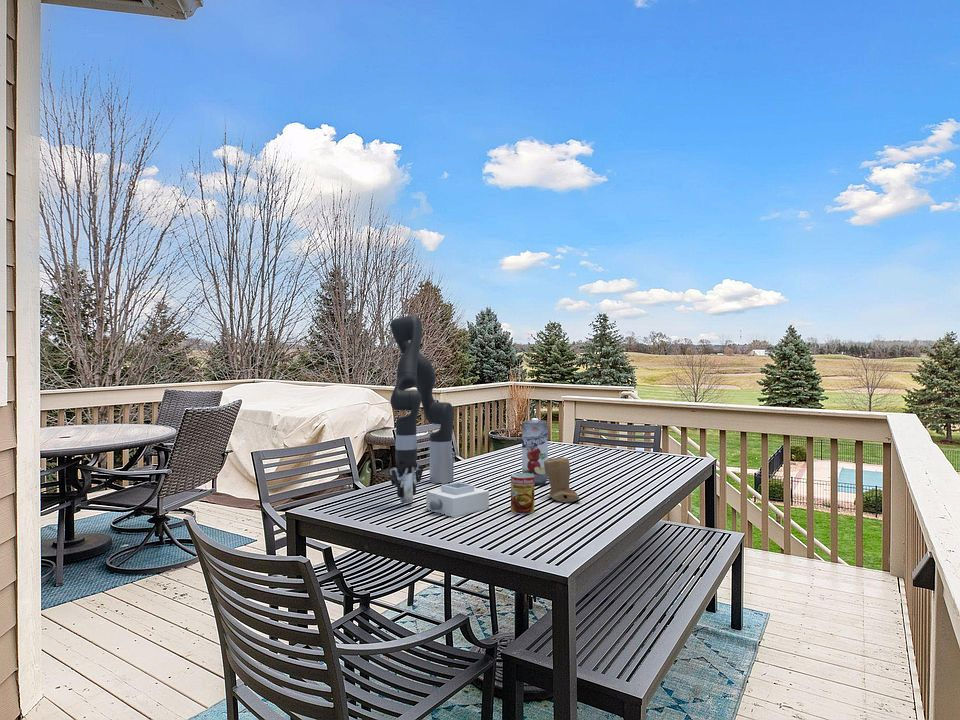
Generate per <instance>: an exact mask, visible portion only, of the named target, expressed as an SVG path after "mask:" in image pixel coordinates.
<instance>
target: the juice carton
mask: <svg viewBox="0 0 960 720" xmlns="http://www.w3.org/2000/svg"><path fill="white" fill-rule="evenodd" d="M521 427H522V429H521V431H522V432H521V448H522V449H521V453H522V454H521V456H522V457H521V468H522V469H521V470H522V471H521V473H529V474H533V475H534V486H546V484H547V480H548V477H547V475H546V472H545V469H544V461H545V460H547V459H549V439H548V438H549V434H548V433H549V432H548V430H549V429H548V423H547V421H546V420H539V418H536V417H533V418H531V420H523V422H522V426H521Z"/></svg>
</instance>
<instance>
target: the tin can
mask: <svg viewBox="0 0 960 720" xmlns="http://www.w3.org/2000/svg"><path fill="white" fill-rule="evenodd" d="M400 478H402V476H400ZM400 481H401V480H400ZM403 487H404V497H403V498H400V499H399V501H400V503H401V504H411V503H413V502H414V496H413V473H407V474H406V479H405V481H404V484H403Z"/></svg>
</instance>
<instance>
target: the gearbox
mask: <svg viewBox="0 0 960 720" xmlns="http://www.w3.org/2000/svg"><path fill="white" fill-rule="evenodd" d="M425 496H426V497H425V499H426V501H425V502H426V503H425V504H426V508H425V509H426V510H427V509H428V510H427V511H430V510H431V512H434V513H437V512H438V514H440V513H441V515H444V514H445V516H447V515H448V516H447V517H450V516H451V518H457V517H460V516H461V517H462V516H464V515H468V514H473V513H477V512H481V511H484V510H488V509H490V491H489V490H486V489H484V488H483V489H481V488H478V487H475V485H474V484H469V483H467V482H466V483H465V482H461V481H455V482H450V483H445V484H440V488H437V489H432V490H427V491H426V495H425Z"/></svg>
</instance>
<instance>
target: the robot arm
mask: <svg viewBox="0 0 960 720" xmlns="http://www.w3.org/2000/svg"><path fill="white" fill-rule="evenodd" d="M390 329H391V333H392V335H393V338H394V340H395V343H396V344H397V346H398V348H399V350H400V352H401V354H402V356H401V357H400V359H399V361H398V363H397V369H396V371H397V372H396V383H395V386H394V388H393V391H392V393H391V397H390V405H391V408H392V409H393V410H395V411H410V413H409V414H408V415H406V416H402V417H401V416H400V417H398V418H397V419H396V422H395V429H396V430H395V443H394V444H395V445H394V446H395V462H396V464H395V467H394V468H392V469H388V475H389V479H390V481H391V485H392V486H394V487H396V494H397V497H398V498H403V497H404V487H403V484H404V481H405V479H406V474H407V473H413V497H414V496H415V495H416V494H417V484H418V483H420V482H422V481H421V480H422V478H423V472H424V467H425V466H424V465H423V464H418V463H417V461H418V438H417V419H418V414H419V411H420V408H421V406H422V410H423V413H424V416H425V418H426V420H427V423H429V424H432V425H440V428H439V430H437V431H435V432H432V433H430V434H429V483H430V482H432V483H431V484H435V483H445V484H449V483H448V482H450V483H452V482H454V481H453V480H455V479H454V473H455V472H454V471H455V470H454V458H453V455H452V454H453V453H452V451H453V448H452V445H453V443H452V442H453V441H452V440H453V432H454V415H455V414H454V407H453V405H452V404H451V403H450V402H447V401H446V402H440V401H436V400H435V399H434V397H433V389H434V387H435V384H436V381H437V379H436V378H437V375H436V373H435V369H434V367H433V364H432V362H431V361H430V360H429V358H427V357H426V356H425V355H424V354H422V353H421V352H420V349H421V346H422V345H421V344H422V338H423V329H424V328H423V323H422V320H421V319H420V317H419V315H416V314H413V315H406V316H401V317H398V318H394V319H393V320H392V321H391V322H390ZM414 387H415V389H412V388H414ZM400 476H402V478H400ZM400 480H401V481H400ZM451 481H452V482H451Z"/></svg>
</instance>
